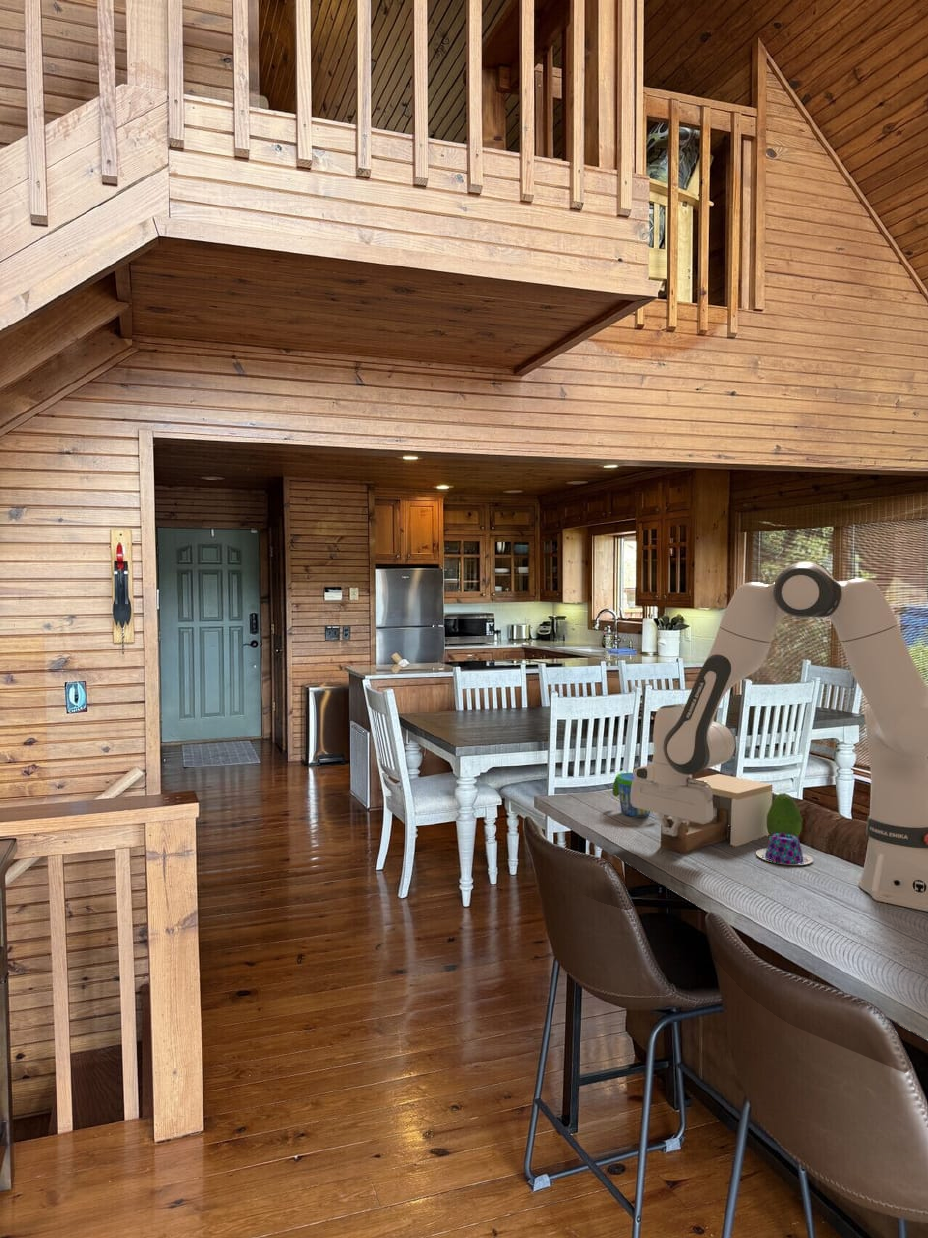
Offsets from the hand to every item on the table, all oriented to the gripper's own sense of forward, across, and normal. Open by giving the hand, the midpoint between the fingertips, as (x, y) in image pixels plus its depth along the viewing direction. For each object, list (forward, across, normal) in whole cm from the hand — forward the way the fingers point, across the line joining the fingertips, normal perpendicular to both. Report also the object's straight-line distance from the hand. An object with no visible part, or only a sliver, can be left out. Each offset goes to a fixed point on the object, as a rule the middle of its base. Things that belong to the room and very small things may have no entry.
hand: (669, 834), depth 189 cm
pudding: (+4, -19, -16) cm, 25 cm away
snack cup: (+4, +25, -21) cm, 33 cm away
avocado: (+4, -13, -27) cm, 31 cm away
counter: (+4, 0, -24) cm, 24 cm away
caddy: (+4, 0, -10) cm, 11 cm away
